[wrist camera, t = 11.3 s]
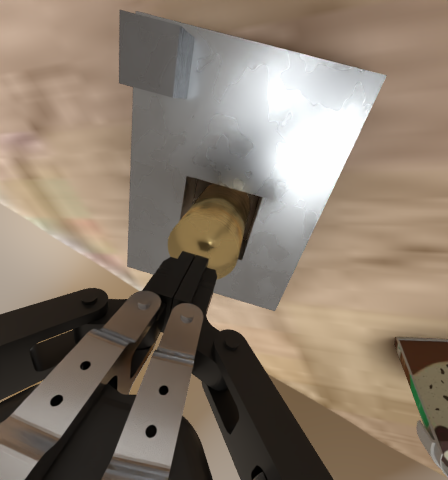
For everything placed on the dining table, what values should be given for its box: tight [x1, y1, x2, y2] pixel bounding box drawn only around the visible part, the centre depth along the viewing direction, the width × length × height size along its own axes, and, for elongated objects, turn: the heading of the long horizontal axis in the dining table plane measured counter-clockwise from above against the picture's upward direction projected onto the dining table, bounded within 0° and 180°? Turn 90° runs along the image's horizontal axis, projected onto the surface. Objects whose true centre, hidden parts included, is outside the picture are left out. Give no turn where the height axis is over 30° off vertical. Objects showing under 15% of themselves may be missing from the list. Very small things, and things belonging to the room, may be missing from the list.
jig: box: [119, 10, 387, 311], centre depth 18 cm, size 18×14×6 cm
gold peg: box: [168, 183, 250, 279], centre depth 18 cm, size 4×4×8 cm
